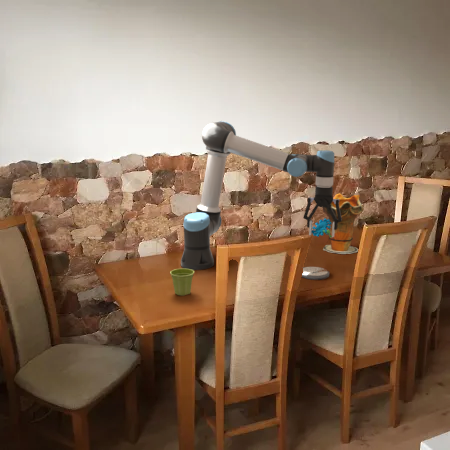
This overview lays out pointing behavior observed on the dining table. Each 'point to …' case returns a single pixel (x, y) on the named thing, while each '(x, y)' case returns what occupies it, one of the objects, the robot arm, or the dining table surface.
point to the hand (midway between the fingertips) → (321, 235)
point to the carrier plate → (315, 273)
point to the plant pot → (182, 280)
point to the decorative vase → (343, 224)
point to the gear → (322, 228)
